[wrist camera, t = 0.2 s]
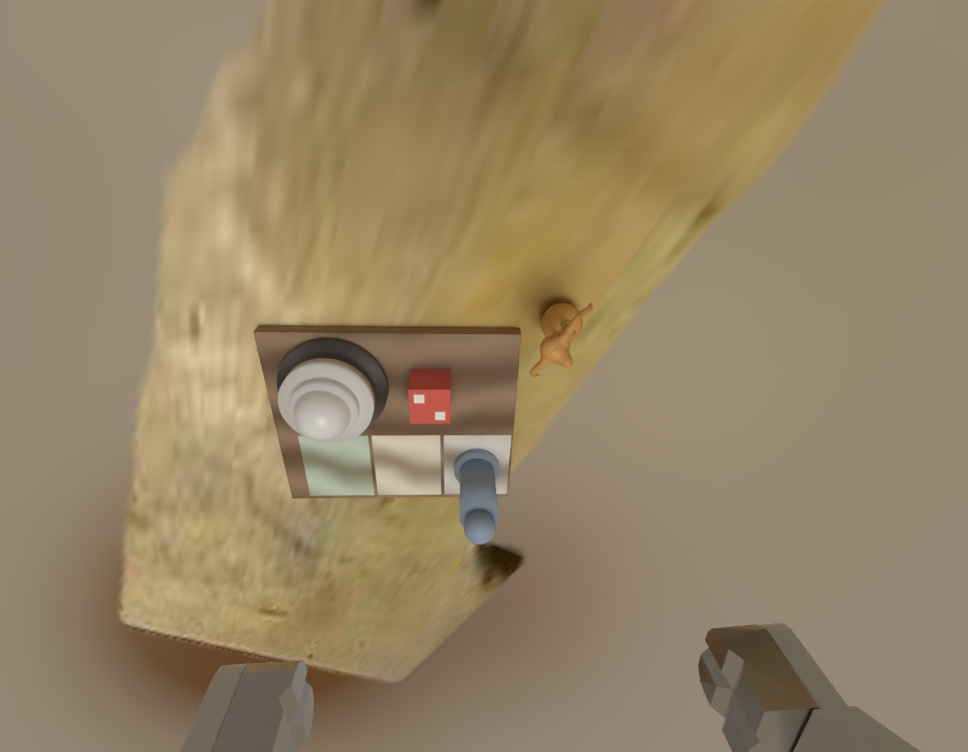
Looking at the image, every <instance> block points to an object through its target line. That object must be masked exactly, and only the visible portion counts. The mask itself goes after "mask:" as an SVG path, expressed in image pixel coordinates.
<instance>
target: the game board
mask: <svg viewBox="0 0 968 752" xmlns="http://www.w3.org/2000/svg"><path fill="white" fill-rule="evenodd" d="M254 336H255V341H256V345H257V349H258V353H259V358H260V362H261V366H262V370H263V375H264V379H265V383H266V388H267V392H268V396H269V400H270V405H271V409H272V413H273V417H274V422H275V426H276V430H277V434H278V439H279V443H280V447H281V451H282V456H283V460H284V464H285V468H286V473H287V477H288V481H289V486H290V490H291V494H292V498H381V497H460V483H459V482H458V481H457V479H456V477H455V474H454V465H455V461H456V459H457V457H458V456H459V455H460V454H462V453H463V452H465V451H467V450H470V449H484V450H487V451H490V452H491V453H493V454H494V455H495V456H496V458H497V459H498V463H499V475H498V478H497V479H496V480H495V484H496V494H497V496H508V490H509V478H510V465H511V453H512V440H513V428H514V416H515V403H516V391H517V378H518V366H519V354H520V341H521V333H520V329H519V328H440V327H346V326H258V327H257V329H256V330H255V331H254ZM316 358H330V359H336V360H339V361H343V362H345V363H347V364H349V365H351V366H353V367H355V368H356V369H358V370H359V371H360V372H361V373H362V374H363V375H364V376H365V377H366V378H367V379H368V381H369V382H370V384H371V386H372V388H373V390H374V393H375V409H374V412H373V416H372V419H371V422H370V424H369V426H368V427H367V428H366V430H365V431H364V432H363V433H361V434H360V435H359V436H357V437H355V438H353V439H351V440H348V441H345V442H339V443H324V442H318V441H314V440H312V439H309V438H307V437H304V436H302V435H301V434H299V433H298V432H296V431H295V430H294V429H292V428H291V427H290V426H289V425H288V424H287V422H286V421H285V420H284V418H283V417H282V415H281V413H280V410H279V407H278V392H279V389H280V386H281V385H282V383H283V381H284V380H285V378H286V376H287V375H288V373H289V372H290V371H291V370H292V369H293V368H294V367H295V366H297V365H299V364H300V363H302V362H304V361H307V360H311V359H316ZM412 369H451V416H450V424H410V413H409V395H408V388H409V382H410V376H411V370H412Z"/></svg>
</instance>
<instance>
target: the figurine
mask: <svg viewBox="0 0 968 752" xmlns="http://www.w3.org/2000/svg"><path fill="white" fill-rule="evenodd" d="M592 306H593V305H592V304H591V303H590V304H589V305H588V307H587V308H585V309H583V310H582V311H581V312H579V311H578V310H577V309H576V308H575V307H574V306H572V305H570V304H566V303H559V304H555V305H553V306H551V307H550V308H548V309H547V310H546V312H545V313H544V315H543V318H542V323H541V325H542V330H543V333H544V335H545V336H546V338H545V339H544V340H543V341H542V343H541V345H540V353H541V359H540V361H539V362H538V363H537V364H536V365H535V366H534V367H533V368H532V369H531V371H530V374H531V376H532V377H537V376H539V375H538V374H536V373H537V372H538V371H540V370H541V369H542V368H543V367H545V366H547V365H549V364H553V363H556V364H559V365H561V366H563V367H571V366H572V364H573V361H572V358H571V355H570V353H569V351H570V342H572V341H573V340H575V339H576V338H577V337H578V336H579V334H580V332H581V330H582V326H583V320H582V317H583V316H585V315H586V314H587V313H588V312H589V311H590V312H592V309H593V308H592Z"/></svg>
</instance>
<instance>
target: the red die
mask: <svg viewBox="0 0 968 752" xmlns="http://www.w3.org/2000/svg"><path fill="white" fill-rule="evenodd" d="M408 395H409V413H410V424H450V416H451V369H412V370H411V376H410V382H409V388H408Z"/></svg>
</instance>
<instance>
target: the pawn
mask: <svg viewBox="0 0 968 752" xmlns="http://www.w3.org/2000/svg"><path fill="white" fill-rule="evenodd" d="M454 474H455V477H456V479H457V481H458V482H459V483H460V522H461V524H462V525H463V527H464V532H465V535H466V537H467V538H468V539H469V540H470V541H471V542H473V543H475V544H484V543H487V542H488V541H490V540H491V539H492V537H493V536H494V533H495V530H496V524H497V522H498V519H499V515H498V505H497V494H496V484H495V480H496V479H497V478H498V475H499V463H498V459H497V458H496V456H495V455H494V454H493V453H491V452H490V451H487V450H484V449H470V450H467V451H465V452H463V453H462V454H460V455H459V456H458V457H457V459H456V461H455V465H454Z"/></svg>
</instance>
